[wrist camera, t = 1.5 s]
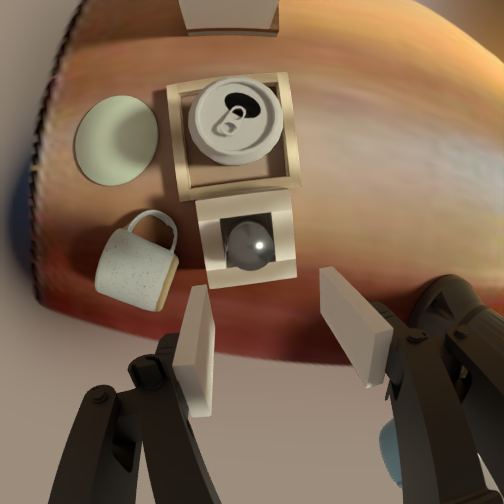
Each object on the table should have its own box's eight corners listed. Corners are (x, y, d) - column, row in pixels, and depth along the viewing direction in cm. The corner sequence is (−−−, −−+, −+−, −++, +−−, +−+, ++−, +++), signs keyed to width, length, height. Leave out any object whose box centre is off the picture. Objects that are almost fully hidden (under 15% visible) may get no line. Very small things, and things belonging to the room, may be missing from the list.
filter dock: (302, 256, 35) (317, 273, 29) (194, 271, 34) (189, 291, 28) (284, 77, 28) (295, 60, 22) (169, 90, 27) (158, 74, 22)
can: (277, 122, 30) (305, 97, 18) (247, 177, 31) (259, 182, 20) (219, 93, 28) (215, 54, 17) (188, 149, 30) (166, 138, 18)
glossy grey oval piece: (267, 251, 30) (275, 267, 25) (230, 256, 30) (231, 273, 25) (264, 214, 29) (271, 223, 24) (225, 219, 28) (224, 229, 24)
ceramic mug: (168, 298, 35) (155, 329, 27) (111, 275, 33) (87, 300, 26) (195, 222, 33) (186, 236, 25) (133, 198, 31) (108, 206, 24)
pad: (163, 175, 30) (162, 175, 30) (83, 193, 30) (80, 194, 29) (154, 87, 27) (153, 85, 26) (75, 111, 27) (73, 110, 26)
